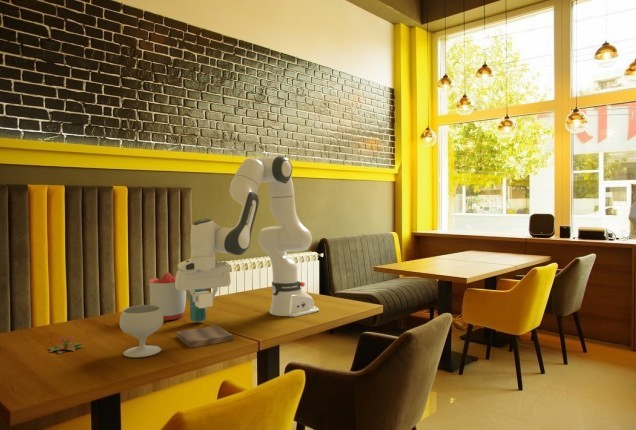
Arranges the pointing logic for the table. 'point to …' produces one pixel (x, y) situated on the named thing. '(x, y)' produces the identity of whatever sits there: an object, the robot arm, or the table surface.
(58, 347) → the lily flower
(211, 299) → the off-white cube
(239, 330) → the table surface
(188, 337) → the walnut base
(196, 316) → the beverage bottle
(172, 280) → the citrus juicer
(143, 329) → the chalice
